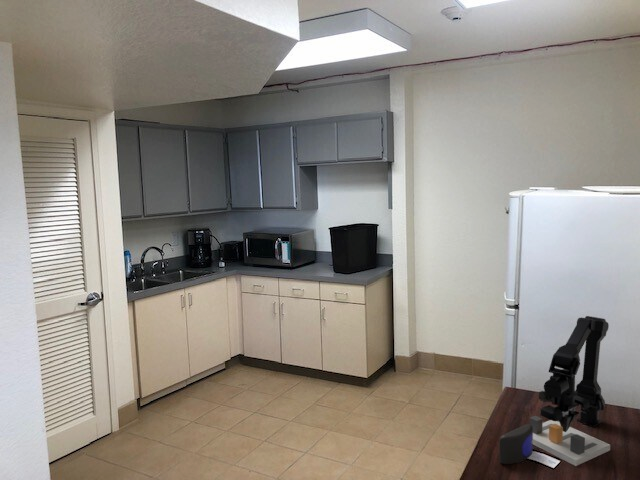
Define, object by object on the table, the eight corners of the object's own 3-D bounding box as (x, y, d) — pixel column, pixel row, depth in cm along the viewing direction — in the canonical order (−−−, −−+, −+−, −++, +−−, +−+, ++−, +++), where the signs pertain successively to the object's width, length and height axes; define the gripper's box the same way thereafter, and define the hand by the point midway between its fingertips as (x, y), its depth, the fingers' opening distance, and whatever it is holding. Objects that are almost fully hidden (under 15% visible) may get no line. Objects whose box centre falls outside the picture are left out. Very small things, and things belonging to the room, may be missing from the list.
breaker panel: (552, 424, 194) (552, 406, 193) (610, 450, 174) (610, 430, 174) (519, 437, 185) (519, 418, 184) (575, 466, 166) (576, 445, 165)
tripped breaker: (554, 437, 179) (554, 423, 179) (562, 441, 177) (562, 427, 176) (548, 439, 178) (549, 425, 177) (556, 443, 175) (556, 429, 175)
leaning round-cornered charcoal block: (509, 469, 165) (510, 441, 164) (497, 463, 169) (497, 435, 168) (540, 453, 174) (540, 426, 173) (528, 447, 178) (528, 421, 177)
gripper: (562, 374, 189) (561, 415, 191) (527, 386, 180) (526, 429, 182) (591, 384, 179) (590, 427, 181) (555, 397, 170) (554, 442, 172)
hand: (564, 431), depth 180 cm, fingers closed
